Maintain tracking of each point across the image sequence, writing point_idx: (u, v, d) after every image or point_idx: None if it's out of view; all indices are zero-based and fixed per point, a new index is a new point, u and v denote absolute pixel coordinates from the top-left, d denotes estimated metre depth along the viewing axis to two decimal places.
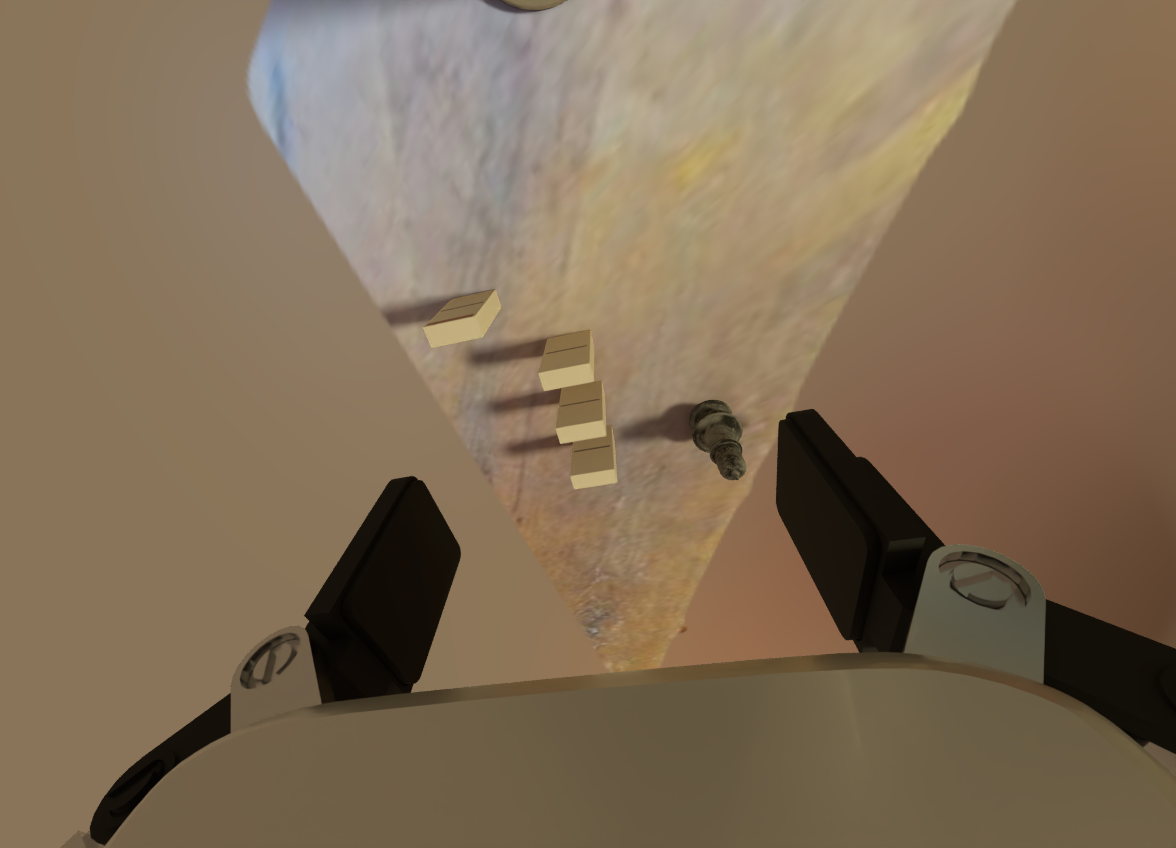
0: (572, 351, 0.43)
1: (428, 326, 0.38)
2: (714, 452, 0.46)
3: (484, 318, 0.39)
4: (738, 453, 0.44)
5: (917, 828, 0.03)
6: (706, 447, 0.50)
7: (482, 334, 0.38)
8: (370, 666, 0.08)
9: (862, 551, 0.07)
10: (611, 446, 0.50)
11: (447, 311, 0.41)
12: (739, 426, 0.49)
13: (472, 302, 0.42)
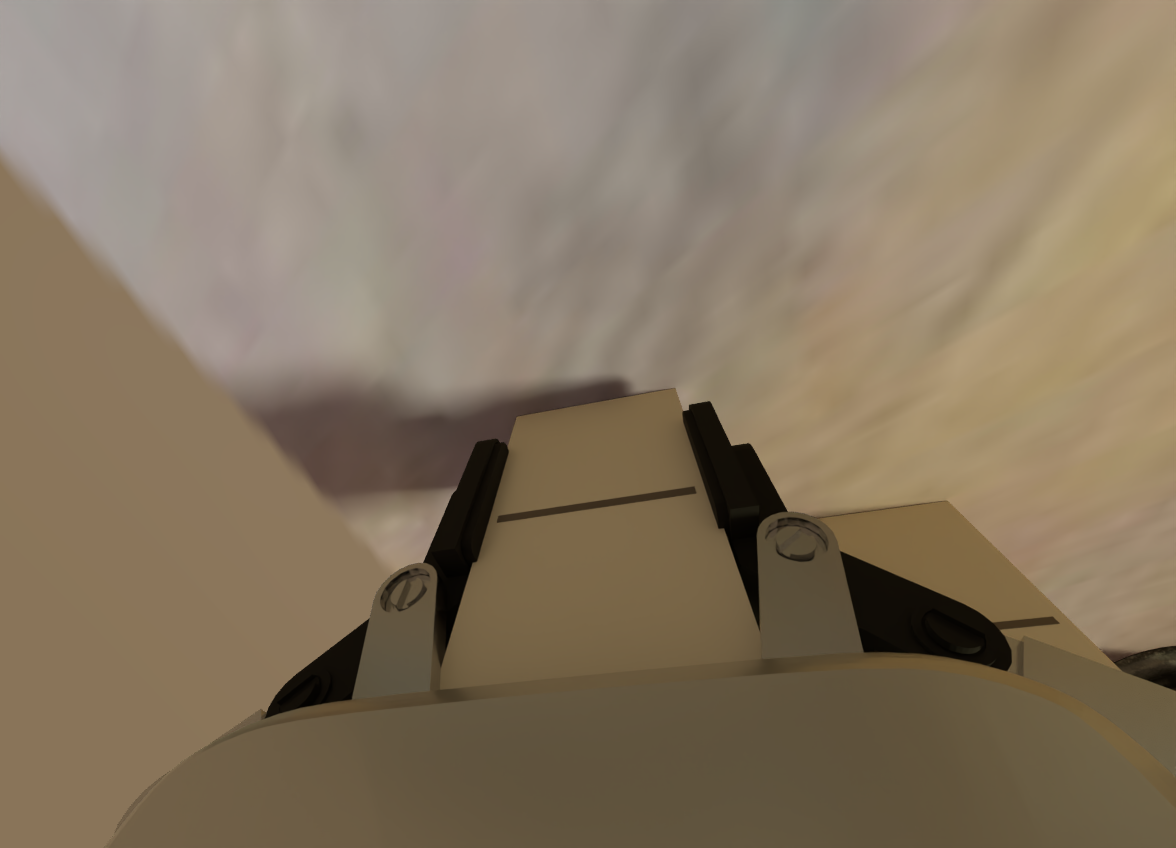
0: None
1: None
2: None
3: None
4: None
5: (917, 828, 0.03)
6: None
7: None
8: None
9: (717, 519, 0.08)
10: None
11: (530, 535, 0.09)
12: None
13: (630, 475, 0.10)
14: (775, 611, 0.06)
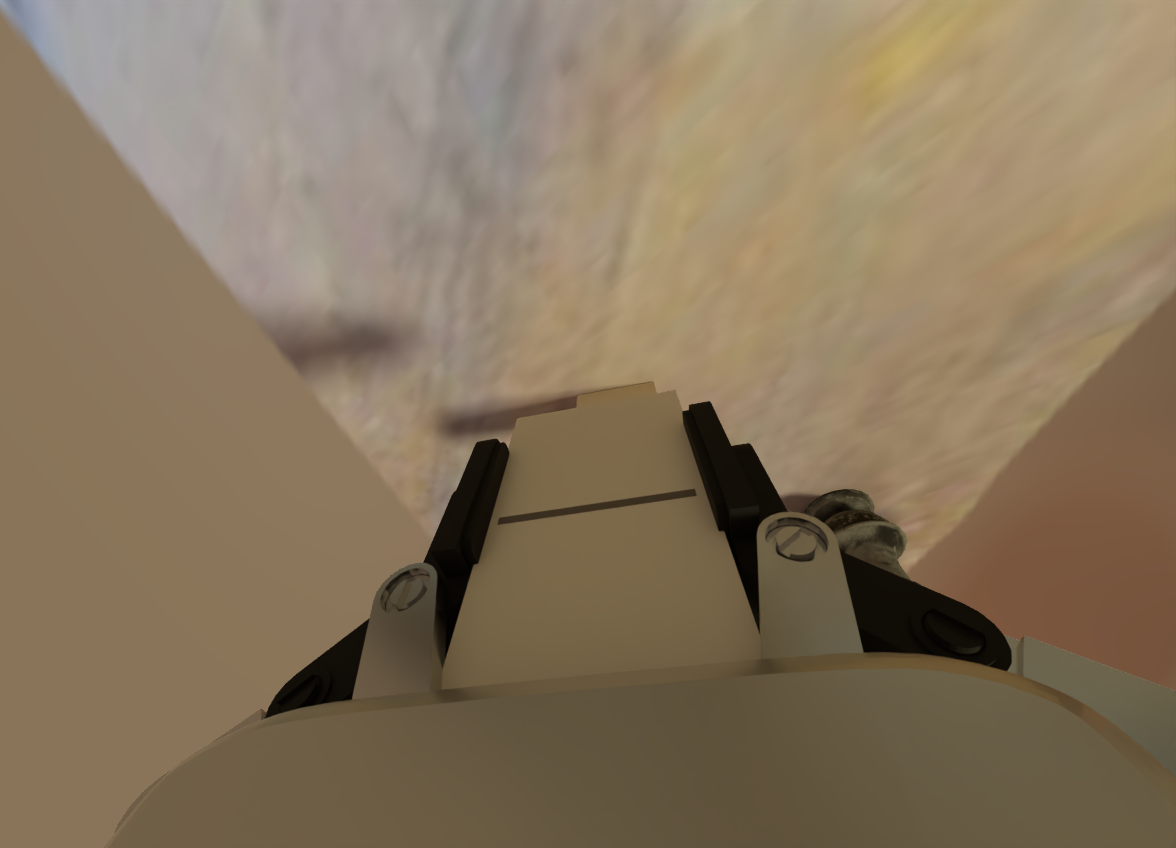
0: None
1: None
2: None
3: None
4: None
5: (917, 828, 0.03)
6: None
7: None
8: None
9: (717, 520, 0.08)
10: None
11: (531, 537, 0.09)
12: (902, 542, 0.29)
13: (631, 477, 0.10)
14: (775, 611, 0.06)
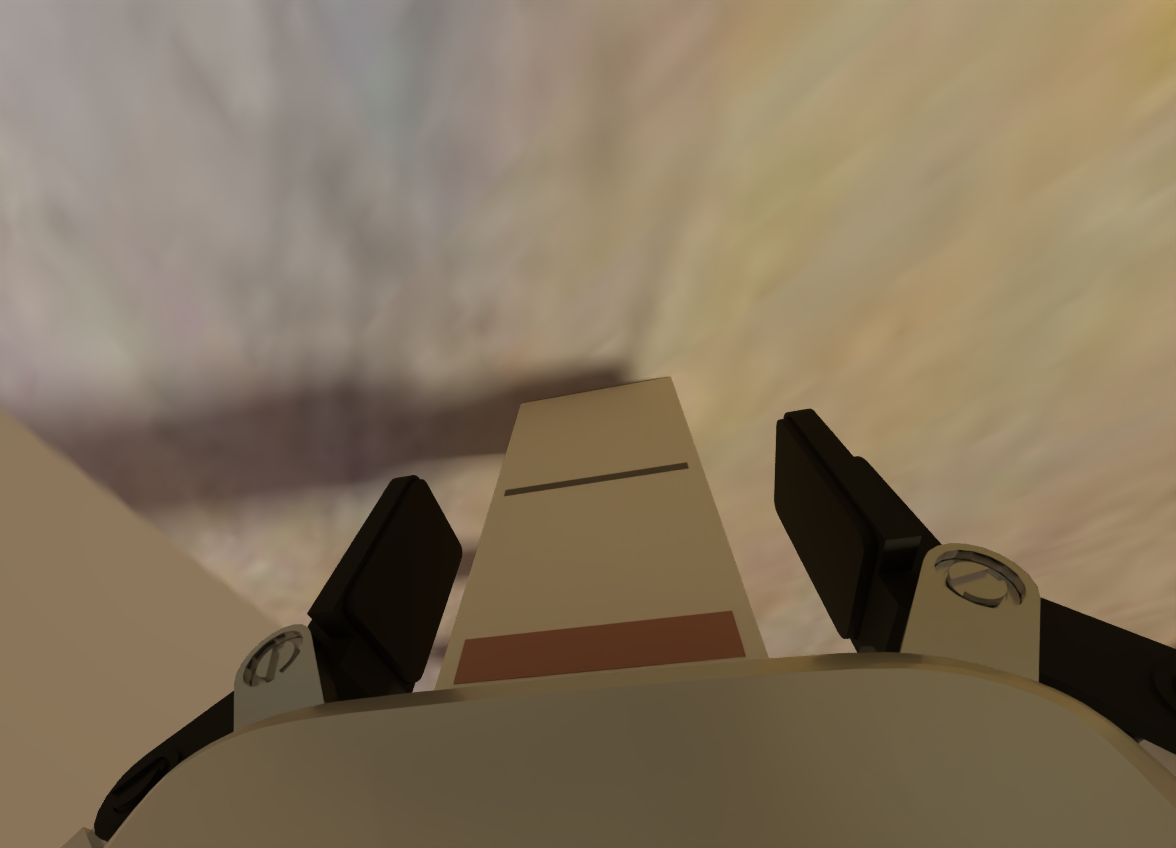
0: None
1: None
2: None
3: None
4: None
5: (917, 828, 0.03)
6: None
7: None
8: (372, 664, 0.08)
9: (858, 550, 0.07)
10: None
11: (535, 506, 0.09)
12: None
13: (628, 453, 0.10)
14: (924, 644, 0.05)
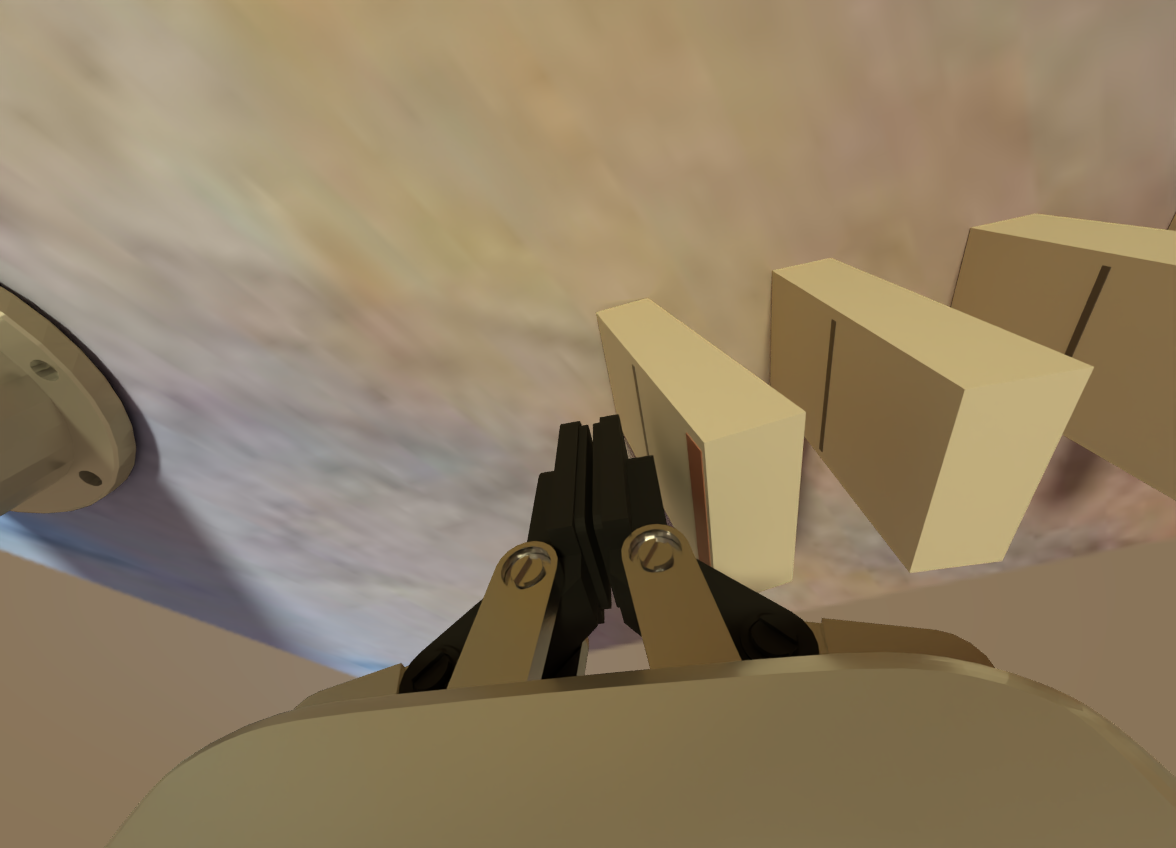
0: (843, 383, 0.11)
1: None
2: None
3: (700, 377, 0.10)
4: None
5: (917, 828, 0.03)
6: None
7: (789, 408, 0.08)
8: (589, 584, 0.09)
9: None
10: None
11: None
12: None
13: (632, 394, 0.13)
14: (653, 628, 0.06)
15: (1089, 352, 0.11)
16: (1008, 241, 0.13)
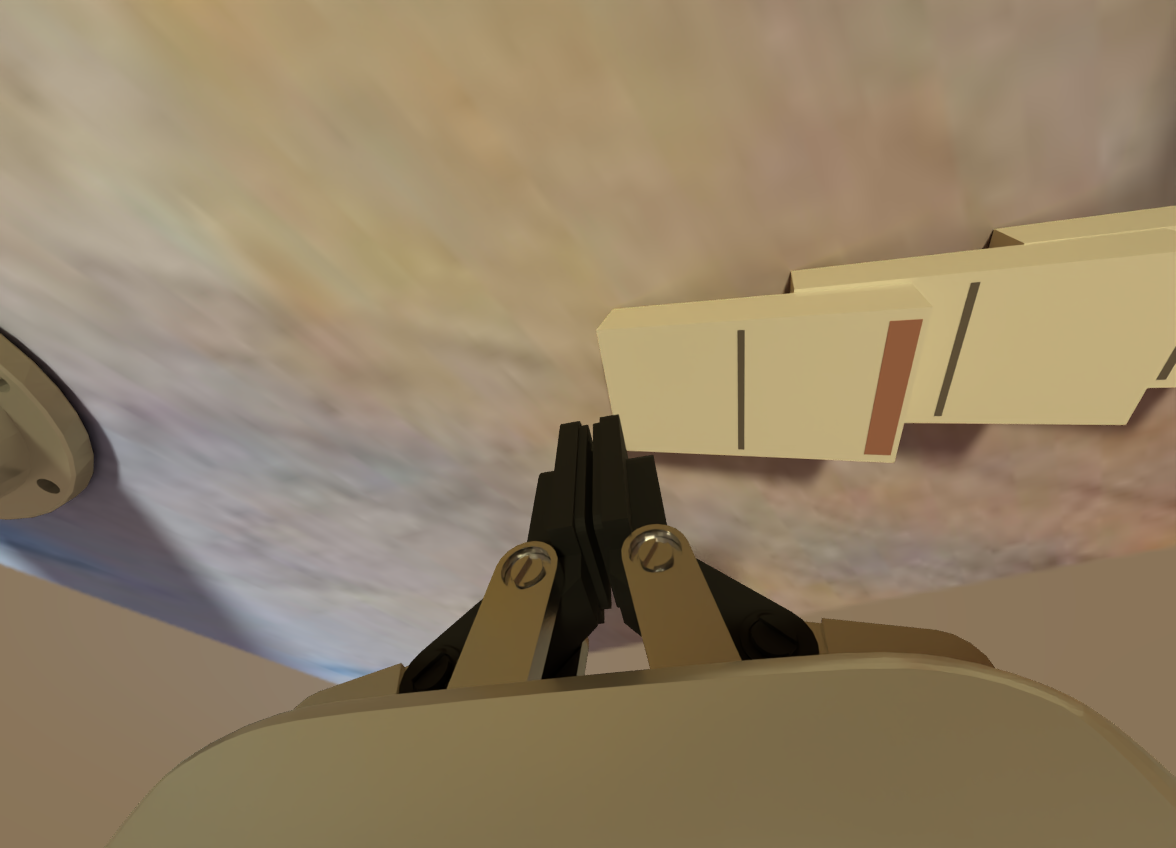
0: (996, 332, 0.12)
1: (895, 448, 0.13)
2: None
3: (823, 301, 0.12)
4: None
5: (917, 828, 0.03)
6: None
7: (902, 285, 0.12)
8: (589, 584, 0.09)
9: None
10: None
11: (760, 429, 0.14)
12: None
13: (714, 371, 0.13)
14: (654, 628, 0.06)
15: None
16: None
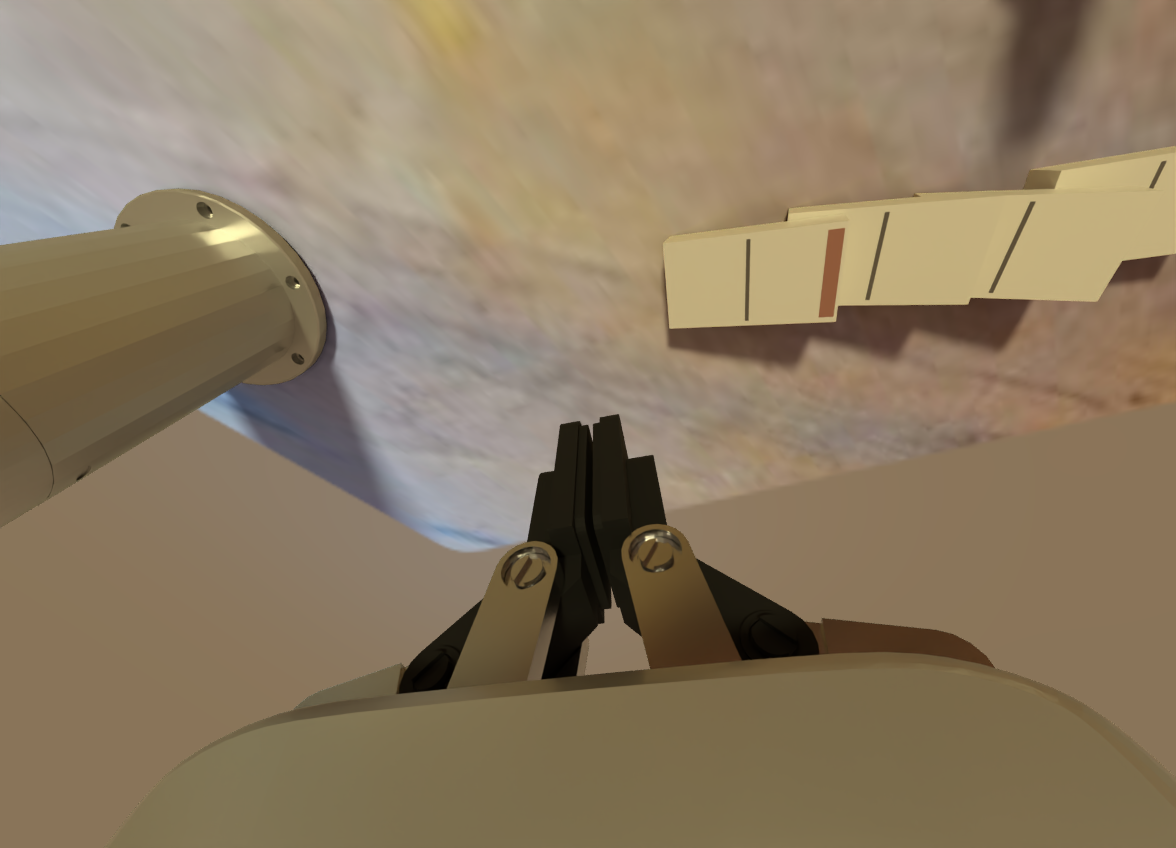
0: (898, 243, 0.21)
1: (835, 311, 0.22)
2: None
3: (795, 223, 0.21)
4: None
5: (917, 828, 0.03)
6: None
7: (839, 215, 0.21)
8: (589, 584, 0.09)
9: None
10: (1170, 156, 0.20)
11: (758, 305, 0.23)
12: None
13: (732, 266, 0.23)
14: (654, 628, 0.06)
15: (1022, 248, 0.21)
16: None
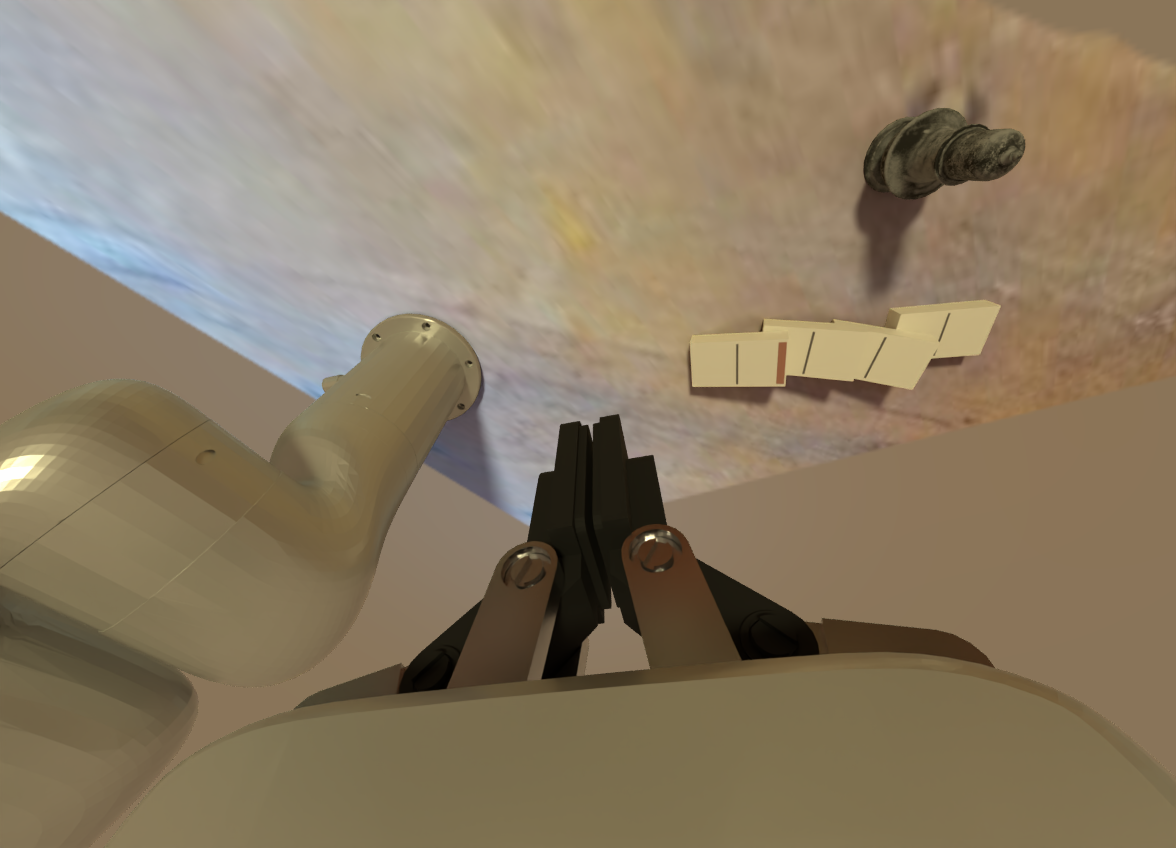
0: (819, 347, 0.40)
1: (785, 381, 0.41)
2: (953, 179, 0.29)
3: (762, 335, 0.40)
4: (969, 144, 0.27)
5: (917, 828, 0.03)
6: None
7: (785, 331, 0.40)
8: (589, 584, 0.09)
9: None
10: (952, 311, 0.40)
11: (743, 376, 0.42)
12: (925, 117, 0.30)
13: (728, 356, 0.41)
14: (654, 628, 0.06)
15: (880, 358, 0.41)
16: None
